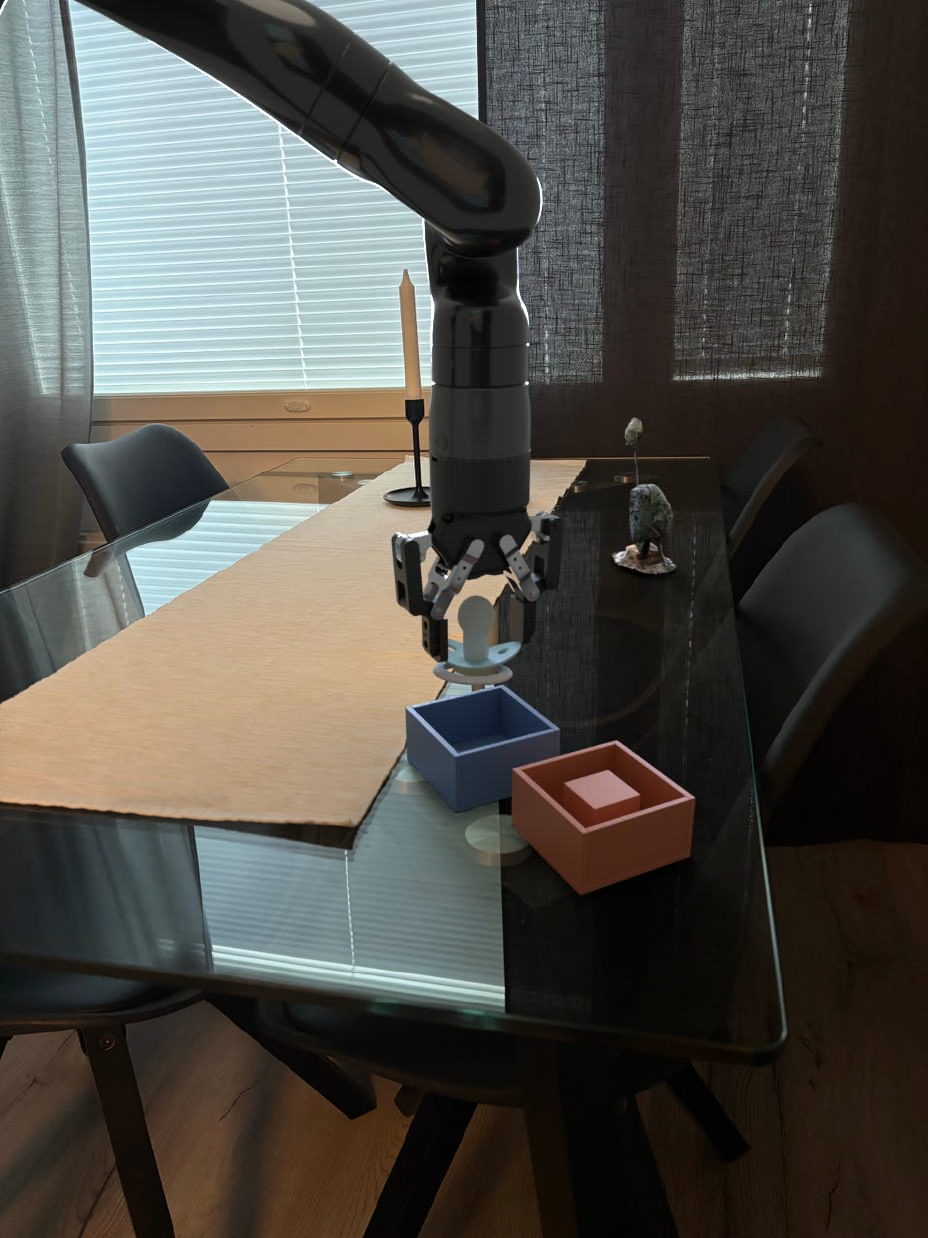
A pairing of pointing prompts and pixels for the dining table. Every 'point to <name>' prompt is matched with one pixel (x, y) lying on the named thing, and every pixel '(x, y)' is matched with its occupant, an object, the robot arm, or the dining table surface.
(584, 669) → the dining table surface
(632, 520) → the plant with pod
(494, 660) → the pacifier
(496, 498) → the robot arm
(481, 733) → the blue bin
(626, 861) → the terracotta bin
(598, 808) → the block
